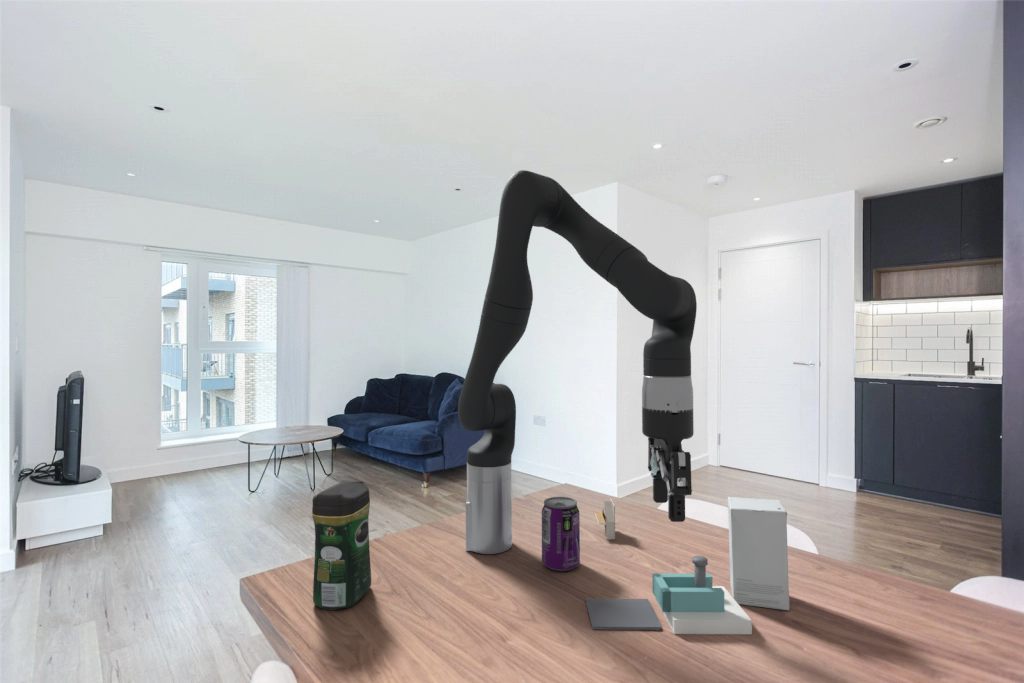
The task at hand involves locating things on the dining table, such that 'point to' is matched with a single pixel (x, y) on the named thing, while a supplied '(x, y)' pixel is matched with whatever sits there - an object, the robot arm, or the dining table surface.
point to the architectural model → (607, 519)
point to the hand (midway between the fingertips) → (668, 511)
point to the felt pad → (622, 614)
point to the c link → (686, 594)
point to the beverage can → (560, 533)
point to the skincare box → (758, 552)
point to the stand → (710, 622)
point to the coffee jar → (341, 545)
